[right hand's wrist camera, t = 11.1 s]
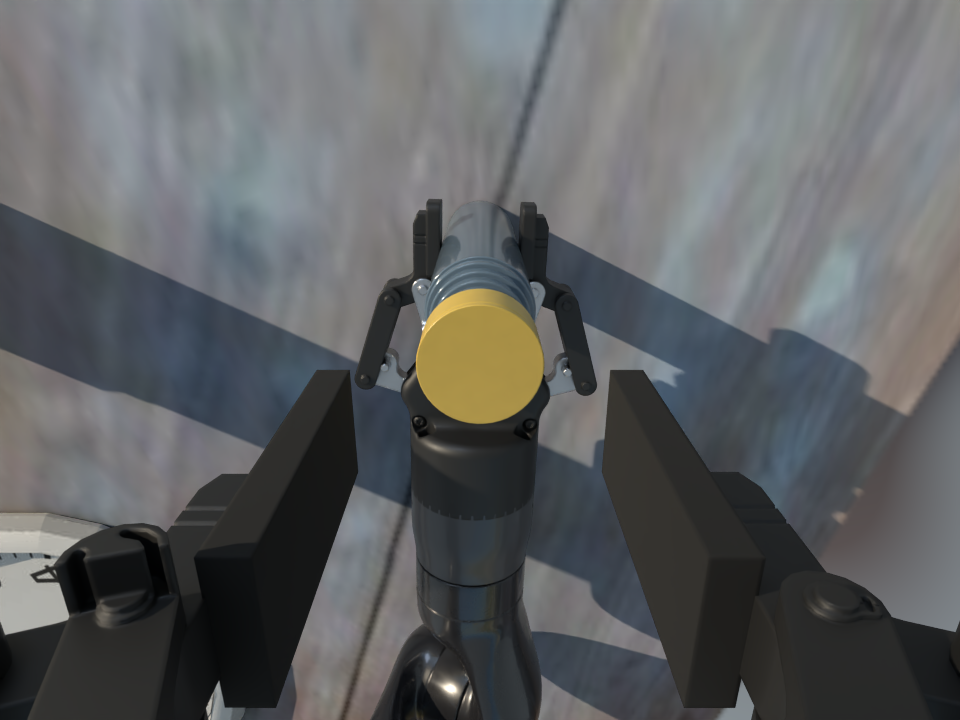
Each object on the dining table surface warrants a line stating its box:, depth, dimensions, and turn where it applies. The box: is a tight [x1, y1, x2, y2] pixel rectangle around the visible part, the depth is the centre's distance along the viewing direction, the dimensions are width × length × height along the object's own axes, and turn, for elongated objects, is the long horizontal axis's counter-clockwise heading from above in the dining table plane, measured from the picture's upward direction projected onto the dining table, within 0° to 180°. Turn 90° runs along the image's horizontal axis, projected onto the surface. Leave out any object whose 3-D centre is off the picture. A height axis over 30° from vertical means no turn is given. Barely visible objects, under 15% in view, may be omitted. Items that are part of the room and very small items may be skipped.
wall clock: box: [0, 513, 245, 720], centre depth 51 cm, size 30×2×30 cm
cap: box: [416, 289, 544, 424], centre depth 19 cm, size 4×4×2 cm
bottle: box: [424, 201, 536, 322], centre depth 28 cm, size 4×4×22 cm
